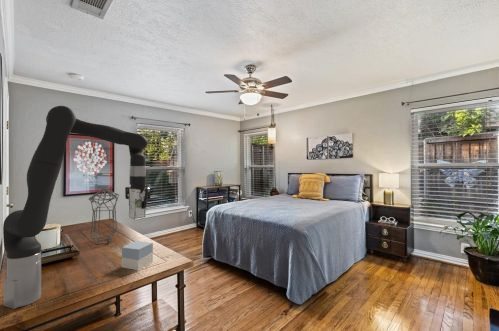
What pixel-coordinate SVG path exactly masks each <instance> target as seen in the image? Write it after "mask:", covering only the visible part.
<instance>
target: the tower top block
mask: <svg viewBox="0 0 499 331" xmlns="http://www.w3.org/2000/svg"><path fill="white" fill-rule="evenodd" d="M151 253H153V254H154V243H153V242H147V241H139V240H135V241H133V242H132V243H128V244H126V245H124V246H122V247H121V259H122V258H129V259H136V260H140V259H141V258H143V257H145V256H147V255H149V254H151Z"/></svg>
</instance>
